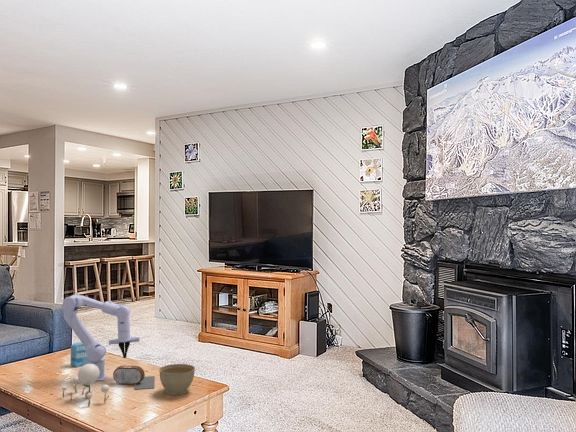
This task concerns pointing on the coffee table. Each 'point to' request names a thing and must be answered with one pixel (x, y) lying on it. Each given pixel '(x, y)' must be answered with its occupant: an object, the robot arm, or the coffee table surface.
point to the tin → (128, 374)
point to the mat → (146, 383)
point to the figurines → (87, 380)
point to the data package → (78, 354)
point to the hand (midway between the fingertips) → (124, 357)
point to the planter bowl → (176, 378)
